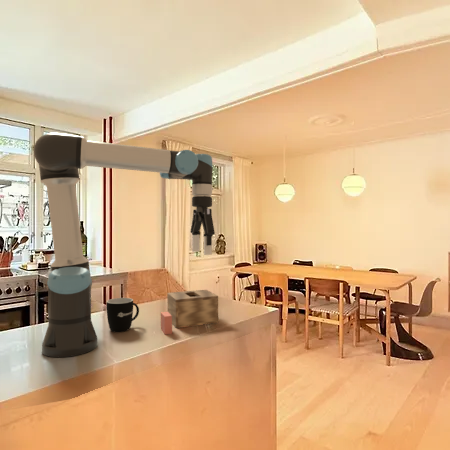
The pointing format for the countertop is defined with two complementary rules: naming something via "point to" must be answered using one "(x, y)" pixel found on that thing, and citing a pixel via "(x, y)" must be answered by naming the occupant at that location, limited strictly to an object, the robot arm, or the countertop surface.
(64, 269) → the robot arm
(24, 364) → the countertop surface
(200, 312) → the coin box
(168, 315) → the block
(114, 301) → the mug
